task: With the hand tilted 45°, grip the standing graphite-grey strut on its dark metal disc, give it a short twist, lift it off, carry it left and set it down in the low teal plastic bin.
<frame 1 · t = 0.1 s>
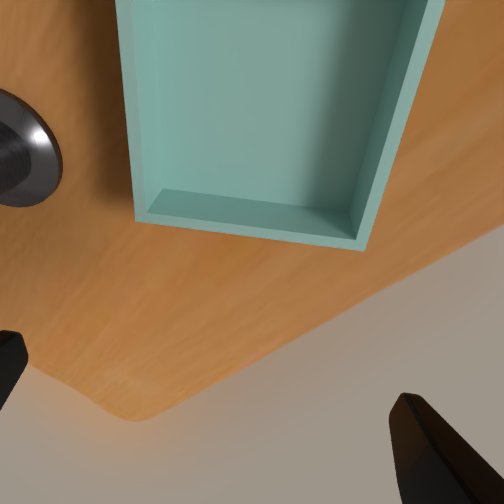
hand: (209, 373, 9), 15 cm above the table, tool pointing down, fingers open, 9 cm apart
bin: (267, 99, 19), on the table
dark metal disc: (3, 148, 22), on the table
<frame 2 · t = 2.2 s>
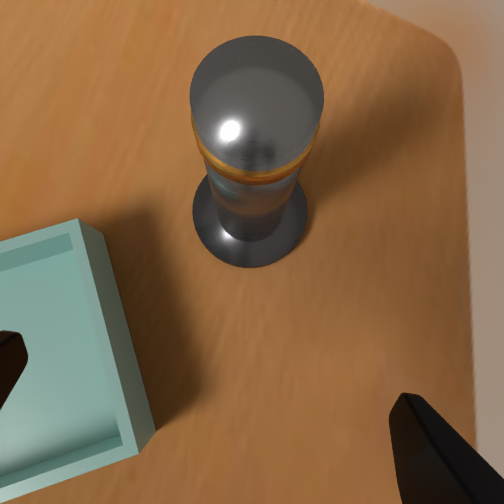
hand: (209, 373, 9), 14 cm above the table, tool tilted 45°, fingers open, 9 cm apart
bin: (27, 361, 22), on the table
dark metal disc: (249, 212, 24), on the table
strut: (250, 209, 23), point 1 cm above the table, touching dark metal disc
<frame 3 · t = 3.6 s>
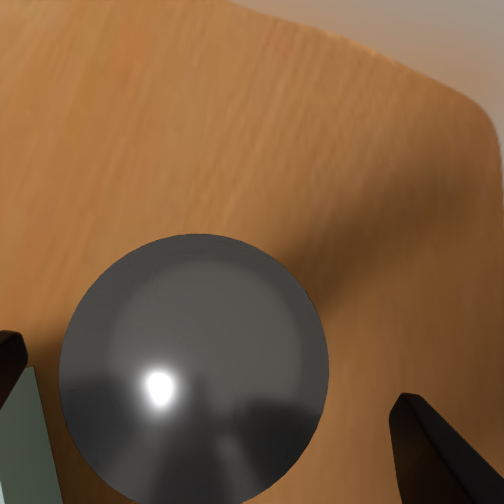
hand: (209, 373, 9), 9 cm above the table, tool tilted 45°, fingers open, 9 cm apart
strut: (227, 336, 17), point 1 cm above the table, touching dark metal disc
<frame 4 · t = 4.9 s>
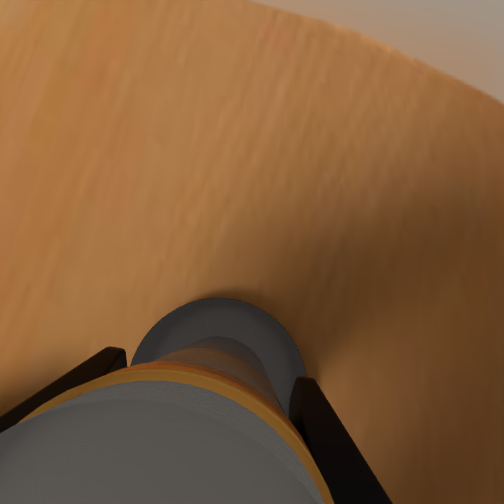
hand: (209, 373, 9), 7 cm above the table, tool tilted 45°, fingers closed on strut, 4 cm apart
dark metal disc: (218, 386, 15), on the table
strut: (217, 389, 15), point 1 cm above the table, touching gripper, dark metal disc
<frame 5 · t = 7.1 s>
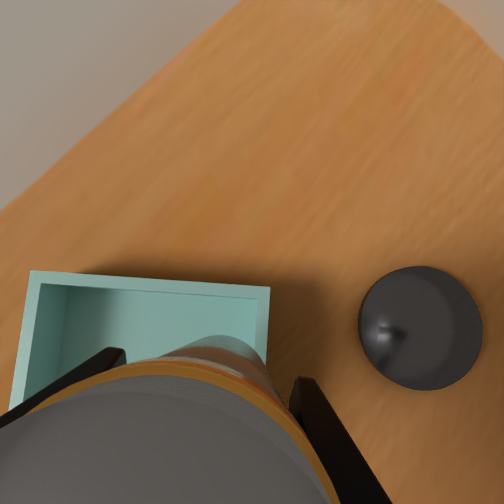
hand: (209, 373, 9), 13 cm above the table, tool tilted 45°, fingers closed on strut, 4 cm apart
bin: (155, 388, 22), on the table
dark metal disc: (417, 326, 22), on the table
strut: (218, 387, 15), point 7 cm above the table, touching gripper
when the fingers open (8 cm above the table, at t = 9.0 s): strut drops 1 cm, resting on bin.
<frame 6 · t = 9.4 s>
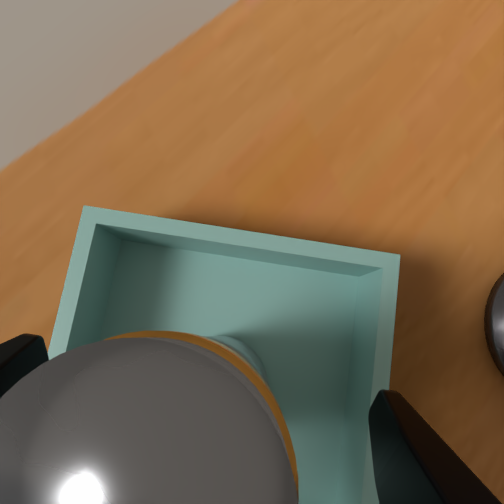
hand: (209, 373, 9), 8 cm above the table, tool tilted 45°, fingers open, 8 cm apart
bin: (220, 380, 17), on the table
strut: (219, 384, 16), point 1 cm above the table, touching bin
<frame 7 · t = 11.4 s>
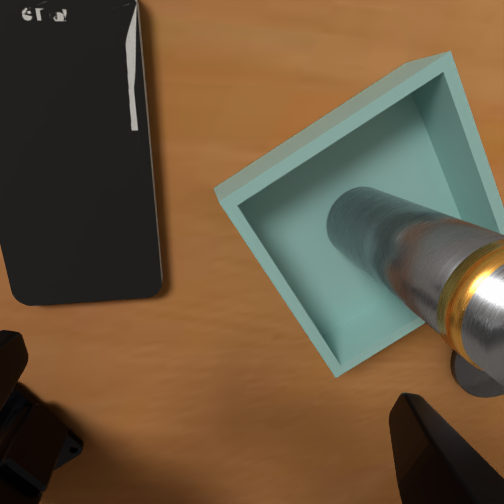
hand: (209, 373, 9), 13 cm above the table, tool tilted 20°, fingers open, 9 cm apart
bin: (355, 218, 22), on the table
dark metal disc: (495, 351, 27), on the table
strut: (359, 221, 22), point 1 cm above the table, touching bin
smartphone: (76, 157, 19), on the table
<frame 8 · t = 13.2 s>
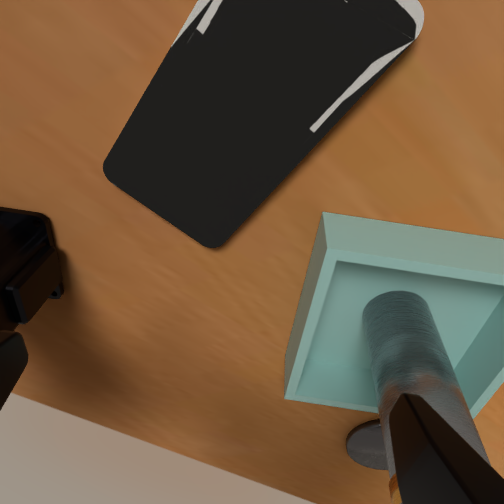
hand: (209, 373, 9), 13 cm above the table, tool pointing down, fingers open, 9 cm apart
bin: (394, 307, 24), on the table
dark metal disc: (387, 442, 33), on the table
strut: (395, 315, 24), point 1 cm above the table, touching bin
smartphone: (243, 100, 19), on the table
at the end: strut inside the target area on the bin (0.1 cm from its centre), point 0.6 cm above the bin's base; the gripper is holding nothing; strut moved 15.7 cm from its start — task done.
